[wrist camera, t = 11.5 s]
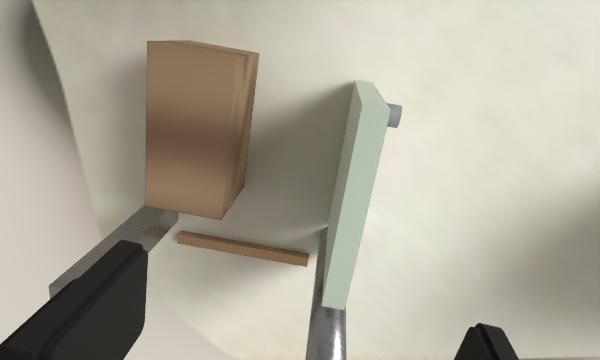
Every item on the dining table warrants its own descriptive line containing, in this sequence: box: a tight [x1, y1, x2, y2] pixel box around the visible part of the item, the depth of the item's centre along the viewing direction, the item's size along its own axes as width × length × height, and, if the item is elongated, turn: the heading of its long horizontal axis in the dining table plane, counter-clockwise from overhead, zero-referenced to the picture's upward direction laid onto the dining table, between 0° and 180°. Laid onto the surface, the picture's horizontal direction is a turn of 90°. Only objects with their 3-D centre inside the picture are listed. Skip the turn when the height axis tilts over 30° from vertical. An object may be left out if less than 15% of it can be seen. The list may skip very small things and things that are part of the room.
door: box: [322, 80, 402, 310], centre depth 22 cm, size 10×2×10 cm, turn 172°
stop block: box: [145, 41, 259, 220], centre depth 25 cm, size 10×5×6 cm, turn 171°
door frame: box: [49, 205, 346, 360], centre depth 25 cm, size 4×16×13 cm, turn 82°
